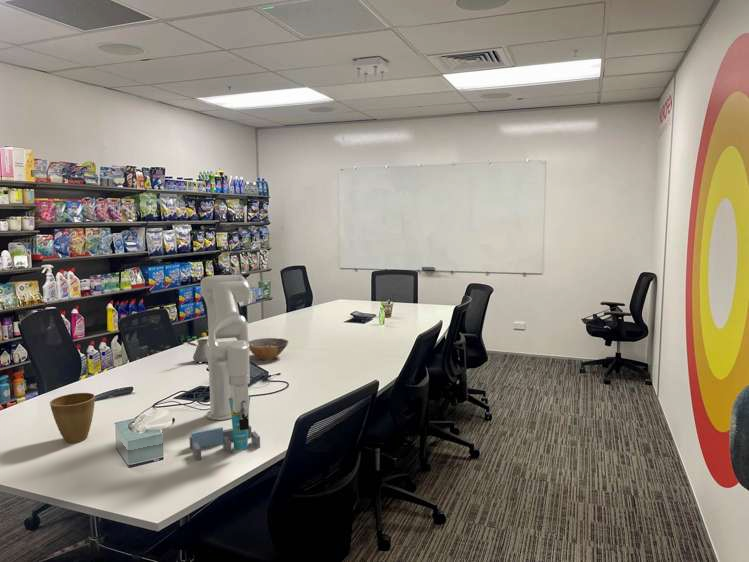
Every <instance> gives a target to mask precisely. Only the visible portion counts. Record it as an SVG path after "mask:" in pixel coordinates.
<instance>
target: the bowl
mask: <svg viewBox="0 0 749 562" xmlns="http://www.w3.org/2000/svg"><path fill="white" fill-rule="evenodd" d="M248 342H249V349H250V352H251V353H252V354H253V356H254V357H255V358H257V359H259V360H263V361H265V360H266V361H269V360H275V358H278V356H279V355H281V353H282V352H283V351H284V350H285V349H286V347H287V346H288V344H289V340H287V339H284V338H277V337H266V338H265V337H263V338H256V339H252V340H248Z"/></svg>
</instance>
